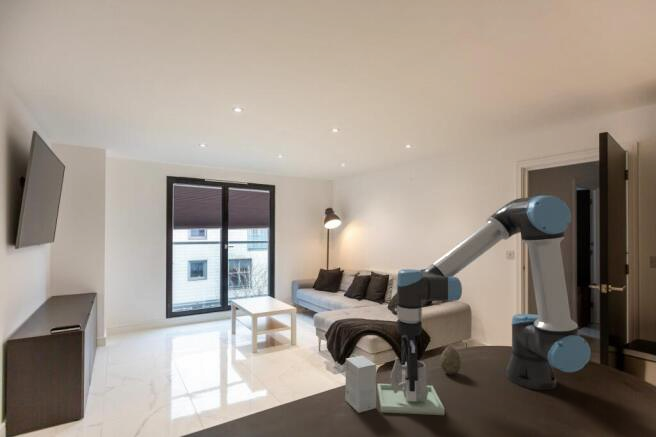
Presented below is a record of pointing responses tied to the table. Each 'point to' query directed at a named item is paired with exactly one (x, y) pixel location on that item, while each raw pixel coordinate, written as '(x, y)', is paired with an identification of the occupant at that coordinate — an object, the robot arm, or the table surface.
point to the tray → (408, 402)
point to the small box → (360, 383)
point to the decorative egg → (450, 361)
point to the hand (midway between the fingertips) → (408, 393)
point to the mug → (420, 384)
